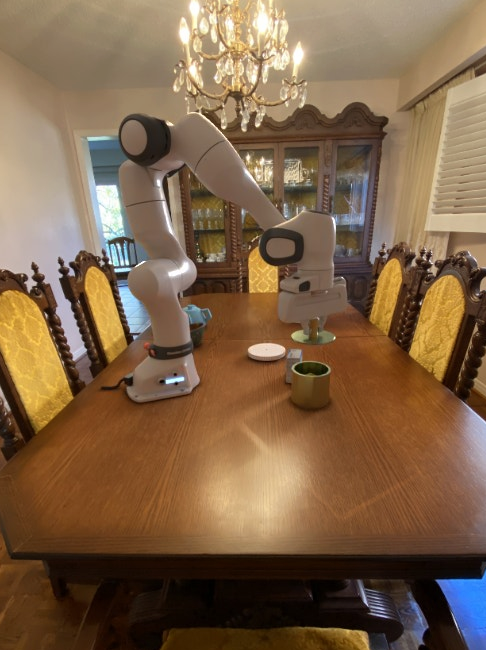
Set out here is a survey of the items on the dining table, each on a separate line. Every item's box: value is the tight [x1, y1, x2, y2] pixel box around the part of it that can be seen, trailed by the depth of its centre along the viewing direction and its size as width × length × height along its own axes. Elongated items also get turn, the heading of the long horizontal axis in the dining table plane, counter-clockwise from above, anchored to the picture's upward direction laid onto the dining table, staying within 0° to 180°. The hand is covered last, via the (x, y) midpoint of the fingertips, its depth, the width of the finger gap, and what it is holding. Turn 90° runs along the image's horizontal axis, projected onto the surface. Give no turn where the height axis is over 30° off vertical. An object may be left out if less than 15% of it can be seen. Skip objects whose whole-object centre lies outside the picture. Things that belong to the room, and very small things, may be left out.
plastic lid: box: [247, 342, 286, 362], centre depth 130 cm, size 14×14×2 cm
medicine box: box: [285, 348, 303, 384], centre depth 110 cm, size 8×4×9 cm, turn 168°
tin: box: [290, 360, 332, 410], centre depth 96 cm, size 10×10×10 cm
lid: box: [290, 318, 336, 346], centre depth 90 cm, size 11×11×6 cm
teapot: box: [182, 304, 213, 327], centre depth 164 cm, size 15×15×11 cm
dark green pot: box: [151, 323, 205, 349], centre depth 139 cm, size 13×20×10 cm, turn 99°
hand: (312, 333), depth 90 cm, fingers closed on lid, 2 cm apart
